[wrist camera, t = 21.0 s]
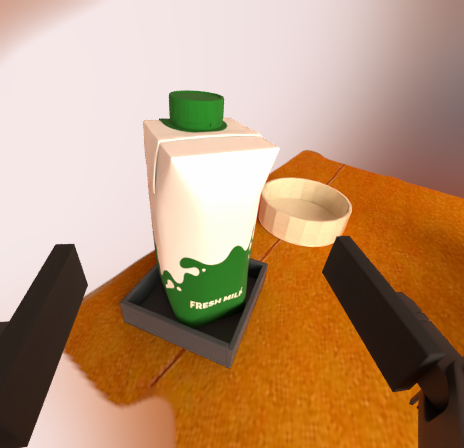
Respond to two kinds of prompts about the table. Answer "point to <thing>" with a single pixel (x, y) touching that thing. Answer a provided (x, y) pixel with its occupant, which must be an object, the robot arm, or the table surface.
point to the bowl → (303, 211)
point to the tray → (195, 340)
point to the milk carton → (204, 204)
